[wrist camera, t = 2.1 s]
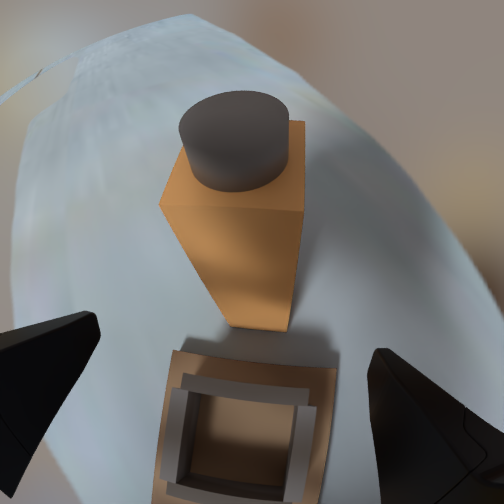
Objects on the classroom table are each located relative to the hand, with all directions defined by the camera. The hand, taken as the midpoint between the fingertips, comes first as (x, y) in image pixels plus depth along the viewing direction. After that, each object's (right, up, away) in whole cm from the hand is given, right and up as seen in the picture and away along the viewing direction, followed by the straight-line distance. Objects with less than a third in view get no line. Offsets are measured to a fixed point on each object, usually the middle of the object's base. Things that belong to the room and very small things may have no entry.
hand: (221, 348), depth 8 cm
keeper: (0, -11, +7) cm, 13 cm away
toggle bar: (+2, -1, +13) cm, 13 cm away
